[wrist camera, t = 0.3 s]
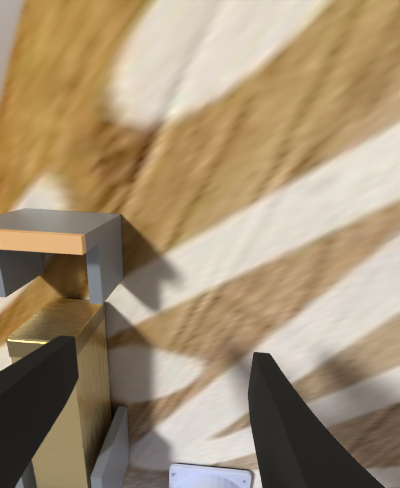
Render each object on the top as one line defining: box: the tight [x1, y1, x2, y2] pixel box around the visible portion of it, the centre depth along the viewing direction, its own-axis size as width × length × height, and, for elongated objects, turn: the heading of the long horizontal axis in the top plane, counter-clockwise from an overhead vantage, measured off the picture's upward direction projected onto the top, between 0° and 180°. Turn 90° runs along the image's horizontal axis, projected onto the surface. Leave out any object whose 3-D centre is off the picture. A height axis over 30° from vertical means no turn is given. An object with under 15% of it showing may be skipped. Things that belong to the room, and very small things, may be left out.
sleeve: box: [15, 406, 129, 488], centre depth 23 cm, size 7×7×6 cm
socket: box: [0, 209, 123, 304], centre depth 17 cm, size 5×7×6 cm
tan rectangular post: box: [7, 298, 112, 488], centre depth 21 cm, size 17×4×5 cm, turn 177°
